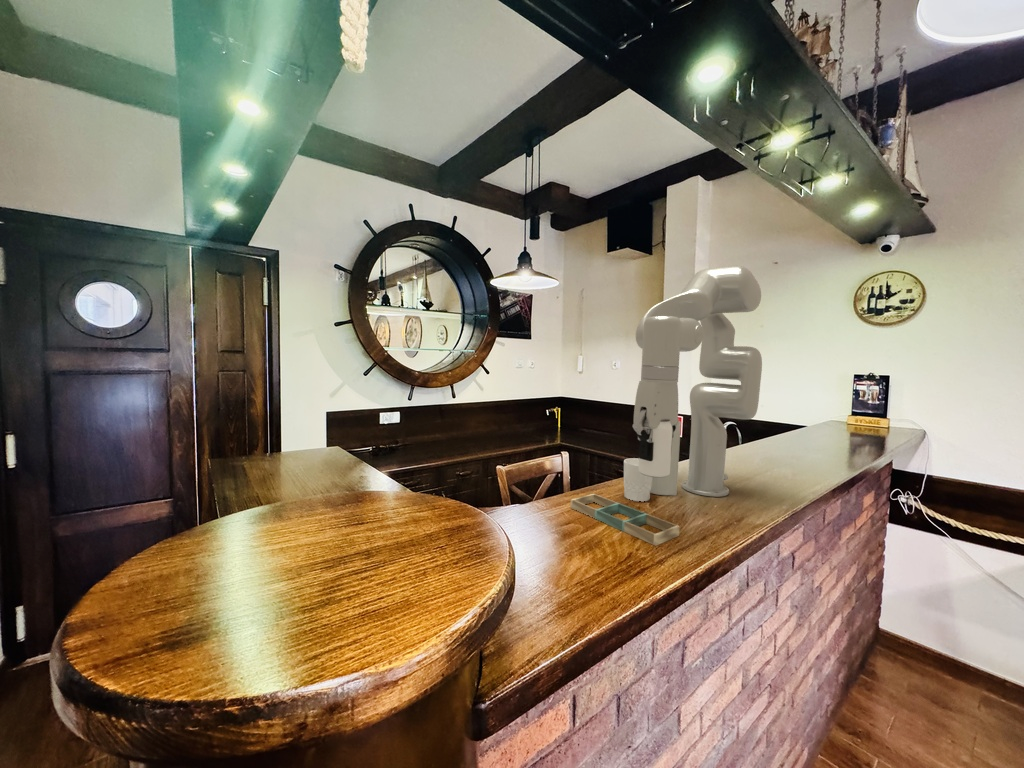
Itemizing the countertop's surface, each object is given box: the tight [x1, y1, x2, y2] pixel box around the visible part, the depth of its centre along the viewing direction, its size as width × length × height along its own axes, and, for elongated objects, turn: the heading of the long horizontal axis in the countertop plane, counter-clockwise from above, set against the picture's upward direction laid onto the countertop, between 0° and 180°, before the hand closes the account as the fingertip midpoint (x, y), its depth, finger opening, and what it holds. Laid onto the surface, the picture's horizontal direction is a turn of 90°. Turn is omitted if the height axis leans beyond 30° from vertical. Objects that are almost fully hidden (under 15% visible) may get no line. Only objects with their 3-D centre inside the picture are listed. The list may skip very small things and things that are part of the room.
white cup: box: [623, 457, 653, 503], centre depth 114 cm, size 8×8×10 cm
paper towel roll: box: [650, 420, 682, 496], centre depth 119 cm, size 7×6×21 cm
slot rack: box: [570, 493, 681, 547], centre depth 98 cm, size 9×25×2 cm, turn 37°
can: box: [638, 420, 672, 478], centre depth 90 cm, size 6×6×12 cm
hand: (655, 456), depth 91 cm, fingers closed on can, 5 cm apart
